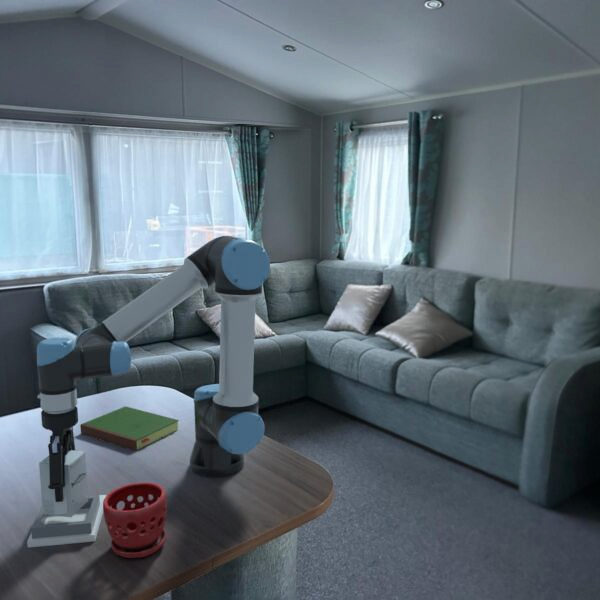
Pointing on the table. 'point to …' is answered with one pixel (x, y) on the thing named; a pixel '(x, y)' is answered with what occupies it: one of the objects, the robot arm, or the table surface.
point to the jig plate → (68, 525)
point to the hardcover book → (129, 427)
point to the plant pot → (136, 519)
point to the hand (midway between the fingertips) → (65, 502)
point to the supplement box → (73, 481)
